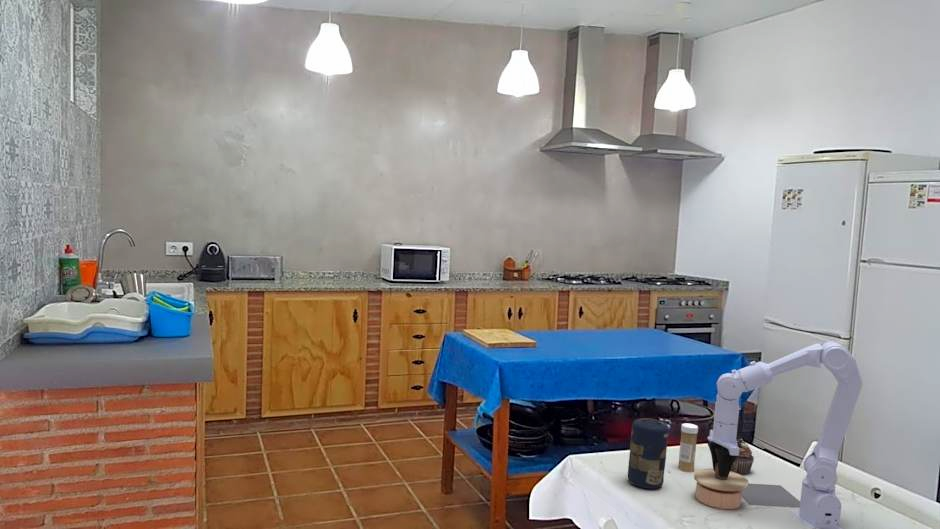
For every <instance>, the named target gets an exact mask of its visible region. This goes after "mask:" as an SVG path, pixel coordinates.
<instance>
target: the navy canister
mask: <svg viewBox="0 0 940 529" xmlns="http://www.w3.org/2000/svg"><path fill="white" fill-rule="evenodd" d="M669 429H670V428H669V425H668V424H667V423H666V422H663V421H661V420H659V419H654V418H652V417H651V418H644V417H643V418H642V417H641V418H637V419H635V420H634V421H632V424H631V434H630V442H629V443H630V445H629V455H628V456H629V457H628V467H627V468H628V469H627V479H628V481H629V482H630V483H631V484H632V485H634V486H637V487H639V488H643V489H657V488H660V487H662V485H663V484H664V477H665V470H666V461H667V450H668V438H669Z"/></svg>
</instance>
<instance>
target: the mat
mask: <svg viewBox="0 0 940 529" xmlns="http://www.w3.org/2000/svg"><path fill="white" fill-rule="evenodd" d="M742 500H744V501H745V503H747V504H748V505H749V506H765V507H781V508H782V507H783V508H798V509H800V500H799V499H798V498H797V497H795V496H794V495H793V494H792V493H791V492H789V491H788V490H787V489H785V488H784V487H783V486H782V485H781V484H765V483H764V484H763V483H750V482H748V487H747V488H746V489H744V490H742Z"/></svg>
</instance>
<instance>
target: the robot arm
mask: <svg viewBox="0 0 940 529" xmlns="http://www.w3.org/2000/svg"><path fill="white" fill-rule="evenodd" d="M821 364H823V366H824V367H825V368H826V370H828V372H830V373H831V374H832V375H833V377H834V379H835V380H836V382H837V385H836V388H835V390H834V393H833V394H834V395H833V397H832V400H831V402H830V405H829V409H828V410H827V415H826V417H825V420H824V423H823V426H822V429H821V431H820V434H819V438H818V441H817V442H816V444H815V445H814V447H813V448H812V451H811V453H810V454H809V455H807V457H805V459H804V462H803V467H804V470H805V472H806V475H805V477H803V478H802V482H801V491H800V492H801V493H800V500H799V501H800V508H799V509H798V511H797V510H792V511H791V512H792V514H794V515H795V516H796V517H797V518H799V519H800V520H801V522H803V523H804V524H805V525H806V526H807V527H808V528H810V529H811V528H812V529H843V528H842V527H841V526H840V523H841V514H842V512H841V511H842V503H841V500H840V499H839V498H838V496H837V494H836V484H837V482H838V475H837V467H838V465H839V454H840V450H841V448H842V445H843V442H844V438H845V436H846V433H847V431H848V430H847V429H848V427H849V424H850V421H851V420H852V417H853V414H854V410H855V407H856V405H857V402H858V399H859V395H860V393H861V390H862V387H863V380H862V376H861V375H860V371H859V368H858V365H857V360H856V358H855V357H854V355H852V353H851V352H850V351H849V350H848V349H847V348H846V347H844V345H843V344H842V343H841V342H839V341H838V340H833V339H828V340H825V341H823V342H821V343H818V342H817V343H815V344H811V345H809V346H807V347H806V346H805V347H804V348H802V349H799V350H797V351H794V352H793V353H790V354H787V355H786V356H783V357H781V358H778V359H776V360H774V361H772V362H769V363H767V362H763V361H757V362H756V361H755V360H753V361H751V362H749V365H748V366H745V367H742V368H739V369H738V370H736V369H732V370H731V372H727V373H723V374H721V375H720V376H719V378H718V379H717V381H716V389H717V394H716V398H715V399H716V401H715V405H714V406H715V407H714V413H713V414H714V417H713V424H712V426H713V427H712V429H710V430H709V435H708V436H707V438H706V439H707V440H708V442H707V446H708V448H709V452H710V454H711V460H712V469H713V470H714V471H715V467H716V463H718V474H719V476H720V477H728V475H729V473H730V470H731V467H732V465H733V463H734V461H735V460H736V458H737V457H738V456H739V447H738V445H737V440H738V439H736V438H737V437H738V436H737V434H738V425H739V417H740V416H739V414H740V404H739V402H740V397H741V396H742V394H743V393H748V392H751V391H753V390H756V389H759V388H762V387H763V386H767V385H769V384H771V383H772V381H773V379H774V377H775V376H778V375H781V374H784V373H787V372H790V371H793V370H796V369H800V368H802V367H805V366H808V367H813V368H819V369H821V367H822V366H821Z"/></svg>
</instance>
